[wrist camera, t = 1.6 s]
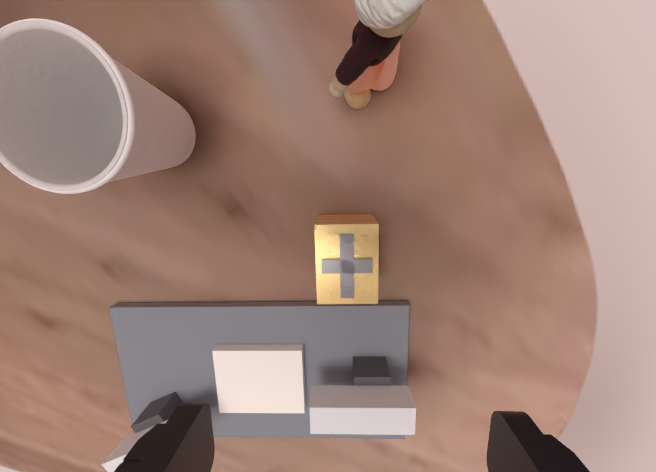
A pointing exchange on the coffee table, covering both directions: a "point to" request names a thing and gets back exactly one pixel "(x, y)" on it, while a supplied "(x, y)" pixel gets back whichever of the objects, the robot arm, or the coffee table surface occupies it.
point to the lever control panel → (267, 368)
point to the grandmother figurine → (373, 49)
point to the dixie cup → (81, 112)
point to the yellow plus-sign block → (347, 258)
